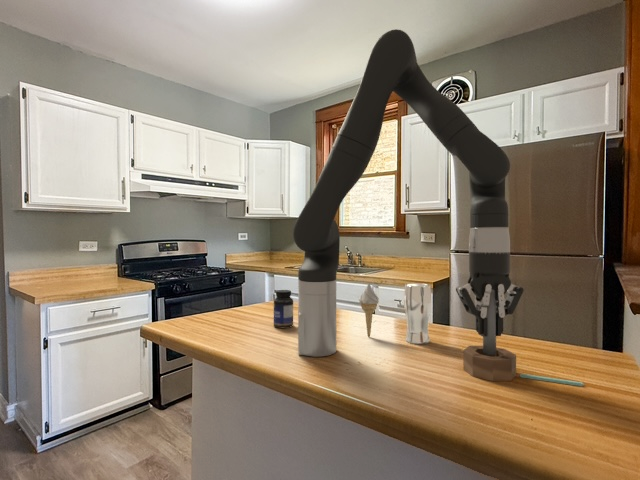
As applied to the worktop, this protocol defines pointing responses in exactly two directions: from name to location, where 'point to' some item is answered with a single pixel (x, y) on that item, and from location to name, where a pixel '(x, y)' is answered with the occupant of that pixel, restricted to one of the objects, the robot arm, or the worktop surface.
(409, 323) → the beer glass
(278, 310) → the pill bottle
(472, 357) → the bead
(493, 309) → the grey rounded rod
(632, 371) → the worktop surface
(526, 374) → the teal thin bar
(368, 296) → the ice cream cone
